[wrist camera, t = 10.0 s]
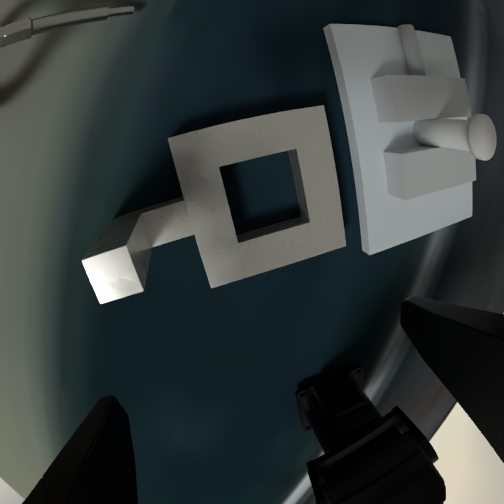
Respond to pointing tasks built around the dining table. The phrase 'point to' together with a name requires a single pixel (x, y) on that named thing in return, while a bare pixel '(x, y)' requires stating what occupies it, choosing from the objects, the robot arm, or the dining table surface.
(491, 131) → the plate with round-ended peg
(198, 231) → the square frame with handle
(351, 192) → the dining table surface
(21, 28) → the tow hook
